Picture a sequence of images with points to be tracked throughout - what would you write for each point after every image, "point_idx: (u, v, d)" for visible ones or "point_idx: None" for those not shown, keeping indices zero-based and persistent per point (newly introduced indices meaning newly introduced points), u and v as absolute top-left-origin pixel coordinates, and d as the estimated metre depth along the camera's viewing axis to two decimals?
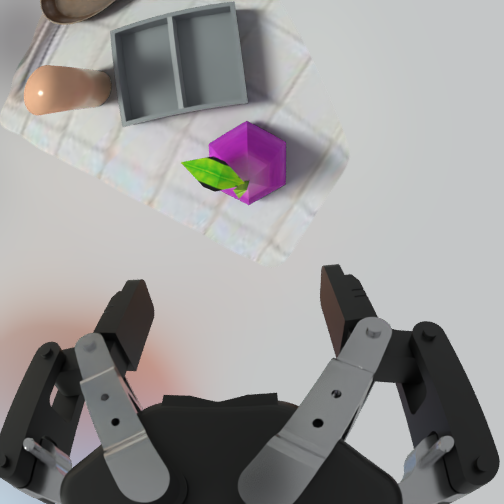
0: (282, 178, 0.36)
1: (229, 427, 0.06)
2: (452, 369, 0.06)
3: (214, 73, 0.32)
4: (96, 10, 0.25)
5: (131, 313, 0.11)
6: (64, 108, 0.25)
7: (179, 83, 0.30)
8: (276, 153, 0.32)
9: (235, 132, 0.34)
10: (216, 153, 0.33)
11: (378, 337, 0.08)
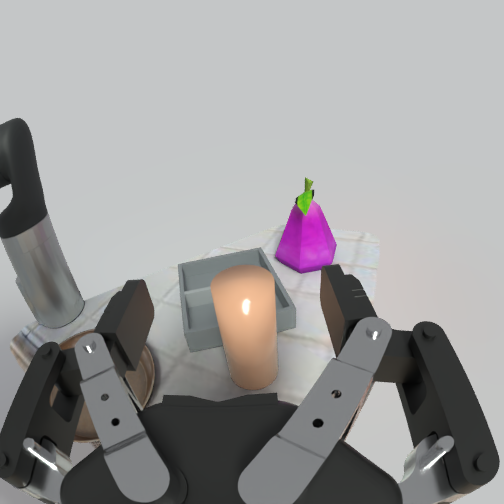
0: None
1: (229, 427, 0.06)
2: (452, 369, 0.06)
3: None
4: (145, 379, 0.31)
5: (131, 313, 0.11)
6: None
7: None
8: None
9: (284, 251, 0.49)
10: (301, 244, 0.46)
11: (378, 337, 0.08)
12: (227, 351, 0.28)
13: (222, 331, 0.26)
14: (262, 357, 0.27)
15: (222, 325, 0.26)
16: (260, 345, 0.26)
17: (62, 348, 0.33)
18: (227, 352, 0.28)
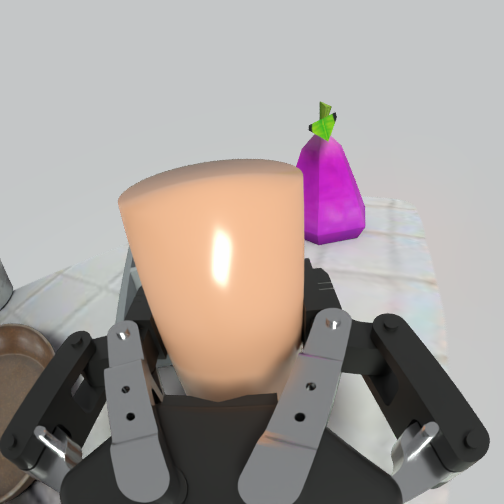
0: None
1: (229, 427, 0.06)
2: (421, 356, 0.07)
3: None
4: None
5: None
6: None
7: None
8: None
9: None
10: (319, 196, 0.29)
11: (336, 327, 0.09)
12: (180, 379, 0.11)
13: (158, 327, 0.09)
14: None
15: (153, 307, 0.09)
16: (263, 367, 0.09)
17: None
18: (181, 381, 0.11)
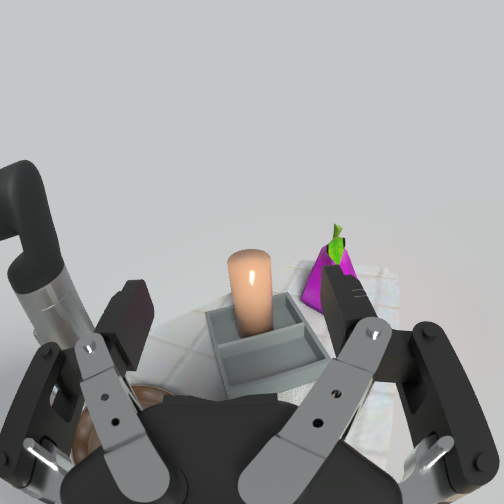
0: None
1: (229, 427, 0.06)
2: (452, 369, 0.06)
3: None
4: None
5: (131, 313, 0.11)
6: None
7: (282, 328, 0.41)
8: (315, 263, 0.51)
9: (311, 295, 0.48)
10: None
11: (378, 337, 0.08)
12: (237, 311, 0.40)
13: (234, 294, 0.39)
14: (262, 314, 0.40)
15: (235, 289, 0.38)
16: (260, 304, 0.39)
17: None
18: (237, 311, 0.41)
